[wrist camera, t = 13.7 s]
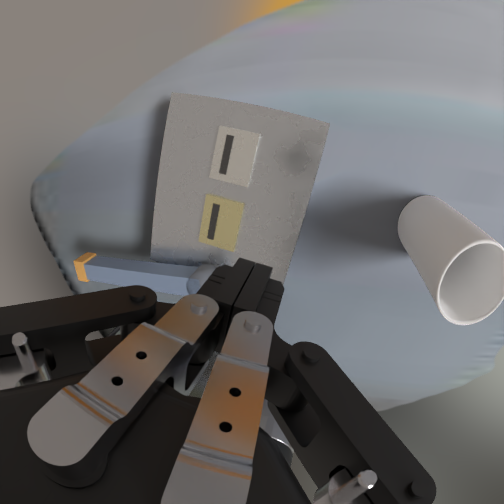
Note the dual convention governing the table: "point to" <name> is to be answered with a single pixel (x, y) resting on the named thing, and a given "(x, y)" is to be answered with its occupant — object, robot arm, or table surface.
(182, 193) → the chassis
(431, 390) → the table surface
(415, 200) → the cup
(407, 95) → the table surface
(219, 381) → the robot arm
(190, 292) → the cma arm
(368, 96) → the table surface
